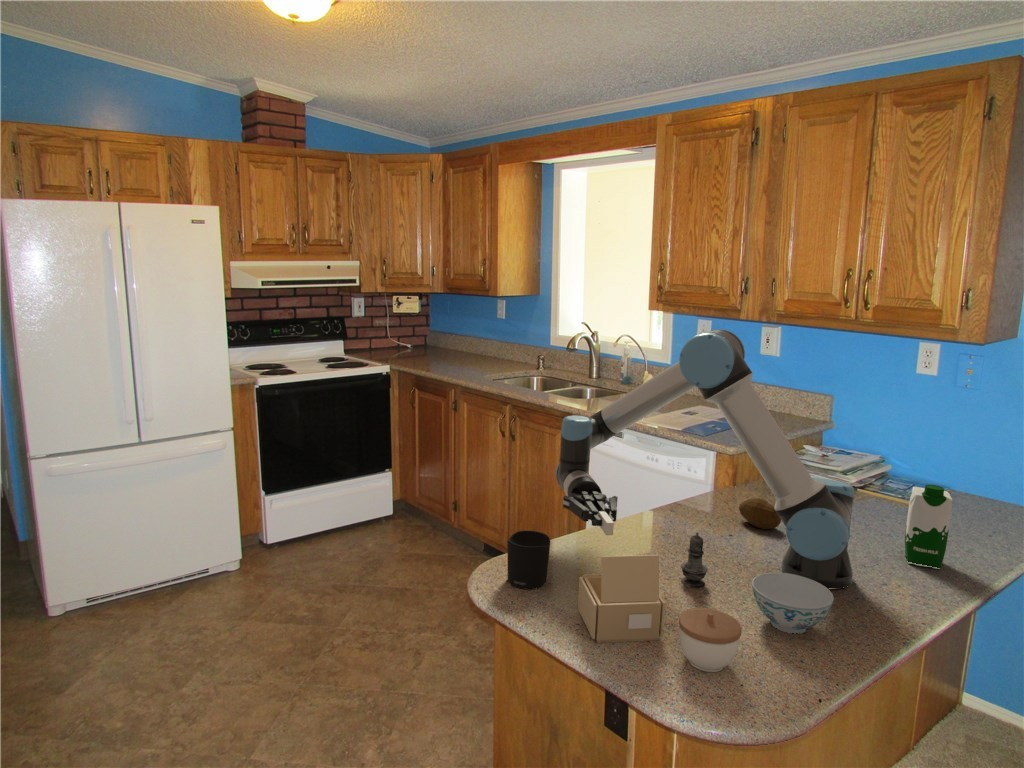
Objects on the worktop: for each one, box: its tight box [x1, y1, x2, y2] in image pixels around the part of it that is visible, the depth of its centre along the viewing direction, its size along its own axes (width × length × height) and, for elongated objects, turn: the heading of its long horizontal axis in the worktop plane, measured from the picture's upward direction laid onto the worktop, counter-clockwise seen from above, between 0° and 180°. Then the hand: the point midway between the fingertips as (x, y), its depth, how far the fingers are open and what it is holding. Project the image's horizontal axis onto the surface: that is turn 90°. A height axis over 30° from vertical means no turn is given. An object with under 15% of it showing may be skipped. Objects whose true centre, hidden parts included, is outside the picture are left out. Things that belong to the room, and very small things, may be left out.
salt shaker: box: [680, 531, 709, 589], centre depth 152 cm, size 6×6×12 cm
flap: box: [600, 554, 660, 603], centre depth 127 cm, size 11×1×8 cm, turn 98°
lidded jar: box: [678, 607, 742, 673], centre depth 121 cm, size 11×11×9 cm
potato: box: [738, 497, 782, 530], centre depth 190 cm, size 8×12×8 cm, turn 45°
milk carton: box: [904, 484, 954, 569], centre depth 168 cm, size 9×9×20 cm
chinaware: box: [751, 572, 835, 635], centre depth 135 cm, size 15×15×8 cm
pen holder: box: [507, 530, 551, 590], centre depth 150 cm, size 9×9×10 cm
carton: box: [577, 573, 666, 644], centre depth 133 cm, size 14×13×8 cm
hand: (609, 529), depth 139 cm, fingers closed
